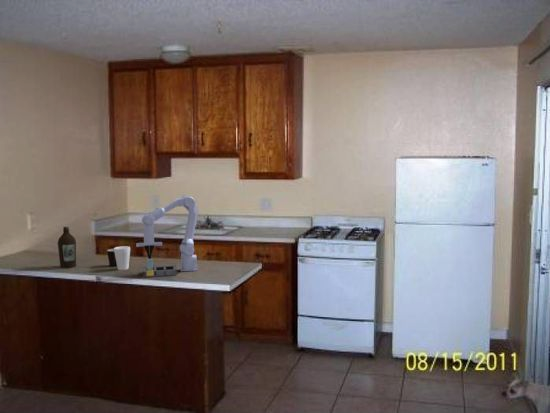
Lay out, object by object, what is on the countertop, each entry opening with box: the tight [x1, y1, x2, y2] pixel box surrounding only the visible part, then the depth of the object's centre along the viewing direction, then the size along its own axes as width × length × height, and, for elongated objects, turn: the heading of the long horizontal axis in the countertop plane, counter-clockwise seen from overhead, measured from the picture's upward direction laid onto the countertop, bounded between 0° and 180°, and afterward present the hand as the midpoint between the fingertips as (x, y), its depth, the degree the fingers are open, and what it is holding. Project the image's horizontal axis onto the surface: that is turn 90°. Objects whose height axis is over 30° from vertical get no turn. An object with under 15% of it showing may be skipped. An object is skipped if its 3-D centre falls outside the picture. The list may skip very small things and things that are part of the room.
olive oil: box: [57, 226, 77, 269], centre depth 356 cm, size 11×11×25 cm
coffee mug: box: [106, 248, 117, 268], centre depth 358 cm, size 12×9×10 cm
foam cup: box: [113, 245, 131, 271], centre depth 348 cm, size 10×9×13 cm
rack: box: [142, 264, 178, 278], centre depth 333 cm, size 19×13×3 cm
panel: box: [146, 257, 154, 271], centre depth 332 cm, size 3×8×8 cm, turn 11°
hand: (149, 258), depth 331 cm, fingers closed
